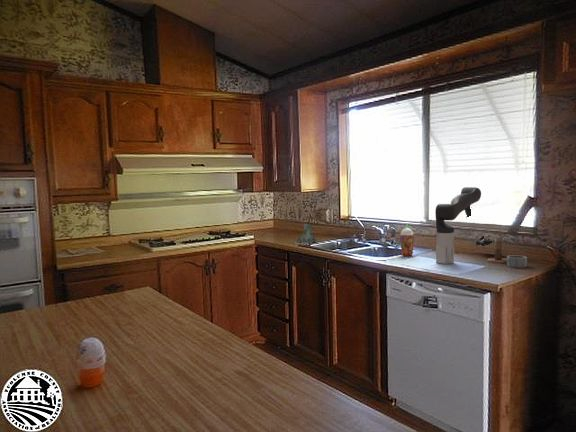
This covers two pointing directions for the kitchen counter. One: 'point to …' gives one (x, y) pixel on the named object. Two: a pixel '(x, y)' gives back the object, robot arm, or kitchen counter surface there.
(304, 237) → the tree stump
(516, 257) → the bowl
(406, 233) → the smoothie
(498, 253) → the wooden post stand
